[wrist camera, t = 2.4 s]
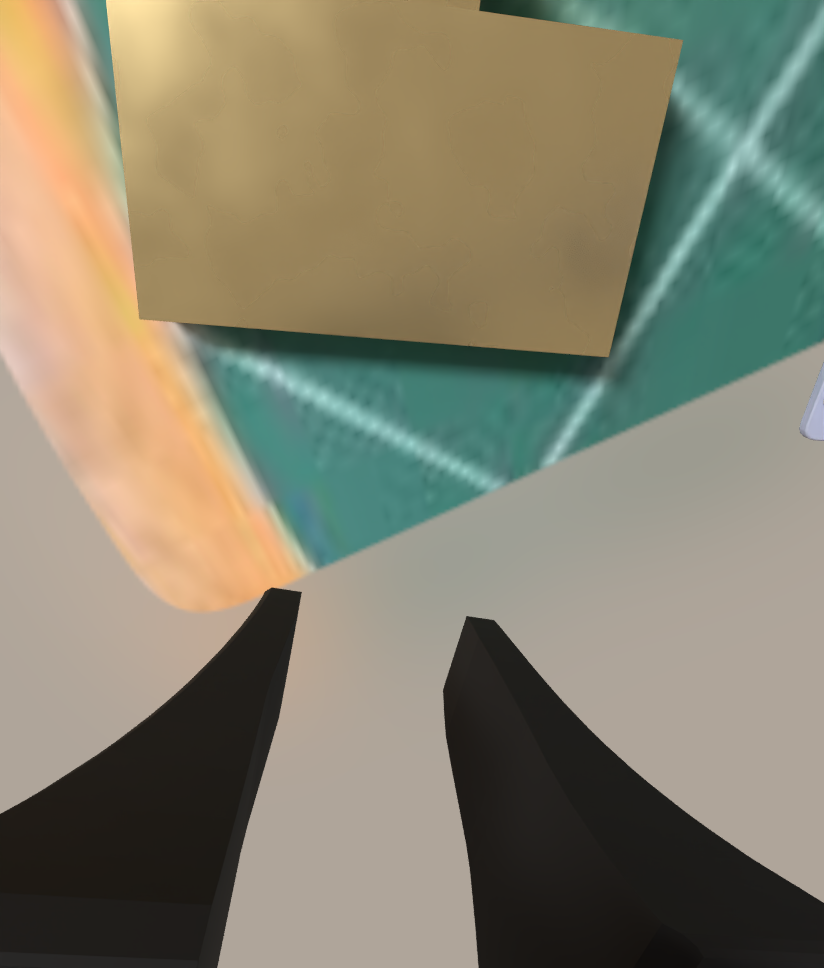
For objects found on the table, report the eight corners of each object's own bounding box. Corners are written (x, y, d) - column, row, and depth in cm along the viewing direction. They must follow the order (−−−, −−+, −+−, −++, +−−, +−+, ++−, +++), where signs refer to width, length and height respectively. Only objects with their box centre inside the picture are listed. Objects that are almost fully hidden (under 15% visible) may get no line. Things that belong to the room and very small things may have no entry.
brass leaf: (585, 345, 19) (624, 365, 16) (162, 310, 18) (122, 325, 15) (688, -129, 14) (770, -221, 11) (116, -230, 13) (41, -365, 10)
